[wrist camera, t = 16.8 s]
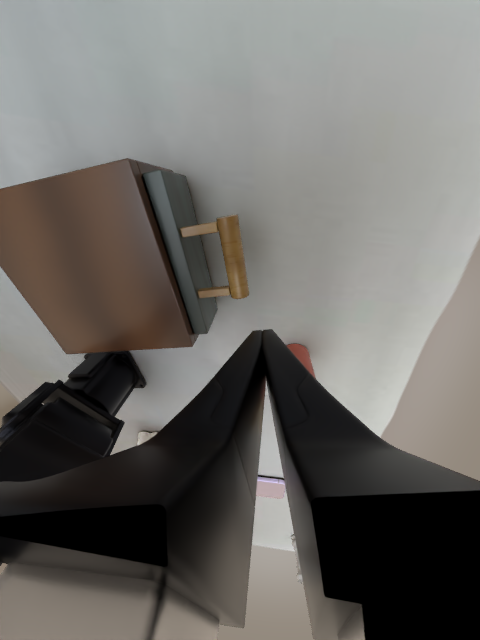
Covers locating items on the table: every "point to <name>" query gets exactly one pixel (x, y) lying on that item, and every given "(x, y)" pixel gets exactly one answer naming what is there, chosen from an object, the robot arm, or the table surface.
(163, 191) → the drawer
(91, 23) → the table surface
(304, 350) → the peg doll
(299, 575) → the rook chess piece
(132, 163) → the cabinet
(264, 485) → the mobile phone
